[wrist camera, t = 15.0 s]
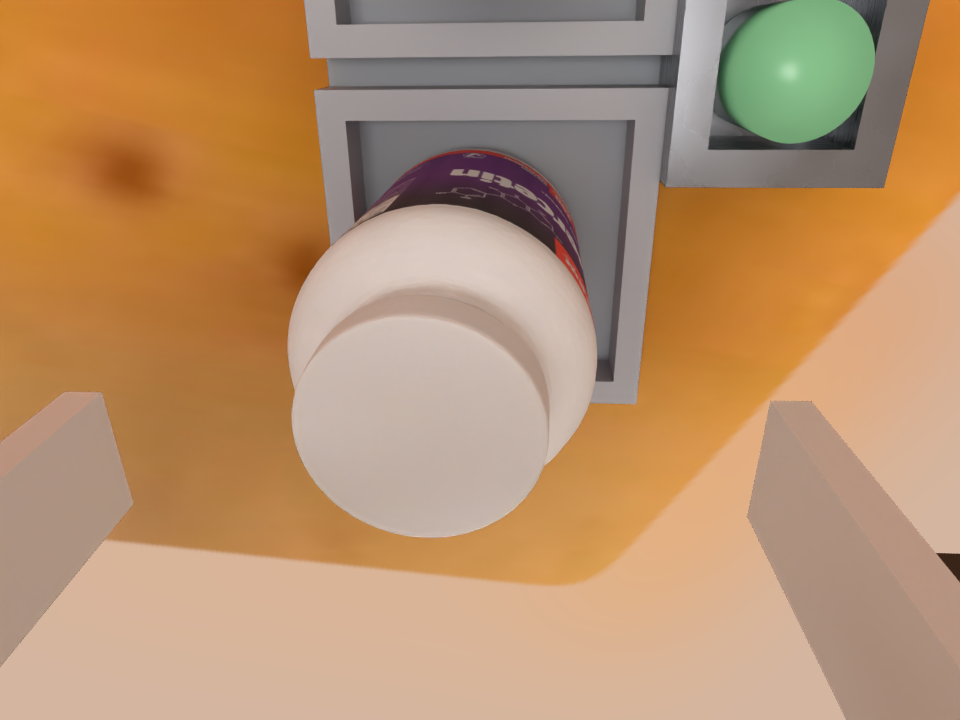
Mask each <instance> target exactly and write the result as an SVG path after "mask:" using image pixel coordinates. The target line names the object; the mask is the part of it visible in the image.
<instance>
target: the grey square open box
mask: <svg viewBox="0 0 960 720" xmlns="http://www.w3.org/2000/svg"><path fill="white" fill-rule="evenodd" d="M784 1H791V0H678V4H677V13H676V23H675V33H674V43H673V52H672V55H661V64H660V74H659V85H662V86H665V87H668V88H669V91H668V101H667V111H666V121H665V130H664V140H663V150H662V159H661V169H660V179H659V180H660V181H661V182H662V183H663V184H664V186H665V187H733V188H884V185H885V181H886V177H887V173H888V169H889V165H890V161H891V157H892V152H893V148H894V144H895V140H896V136H897V132H898V128H899V124H900V120H901V116H902V112H903V108H904V103H905V99H906V95H907V91H908V87H909V83H910V79H911V75H912V71H913V67H914V63H915V59H916V55H917V50H918V46H919V42H920V38H921V34H922V30H923V26H924V22H925V18H926V14H927V10H928V6H929V2H930V0H838V1H840V2H843V3H845V4H847V5H848V6H850V7H852V8H853V9H854V10H855V11H856V12H858V13H859V15H860V16H861V17H862V18H863V19H864V21H865V22H866V24H867V26H868V27H869V30H870V32H871V35H872V38H873V42H874V49H875V64H874V70H873V75H872V79H871V82H870V85H869V87H868V90H867V92H866V94H865V96H864V97H863V99H862V101H861V102H860V104H859V105H858V107H857V108H856V110H855V111H854V112H853V113H852V114H851V115H850V116H849V117H848V118H847V119H846V120H845V121H844V122H843V123H842V124H841V125H839V126H838V127H837V128H835V129H834V130H832V131H831V132H829V133H827V134H826V135H824V136H821V137H819V138H817V139H814V140H811V141H807V142H802V143H793V144H789V143H779V142H775V141H772V140H769V139H766V138H764V137H761V136H759V135H757V134H754V133H752V132H750V131H747V130H745V129H742V128H740V127H738V126H735V125H733V124H731V123H729V122H727V121H725V120H724V119H723V118H721V117H720V116H719V115H718V114H717V113H716V112H715V111H714V109H713V106H714V98H715V90H716V83H717V75H718V67H719V60H720V52H721V44H722V37H723V29H724V26H725V25H726V24H727V23H728V22H729V21H730V20H731V19H733V18H734V17H735V16H737V15H738V14H740V13H741V12H743V11H745V10H747V9H750V8H752V7H755V6H759V5H764V4H770V3H777V2H784Z"/></svg>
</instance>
